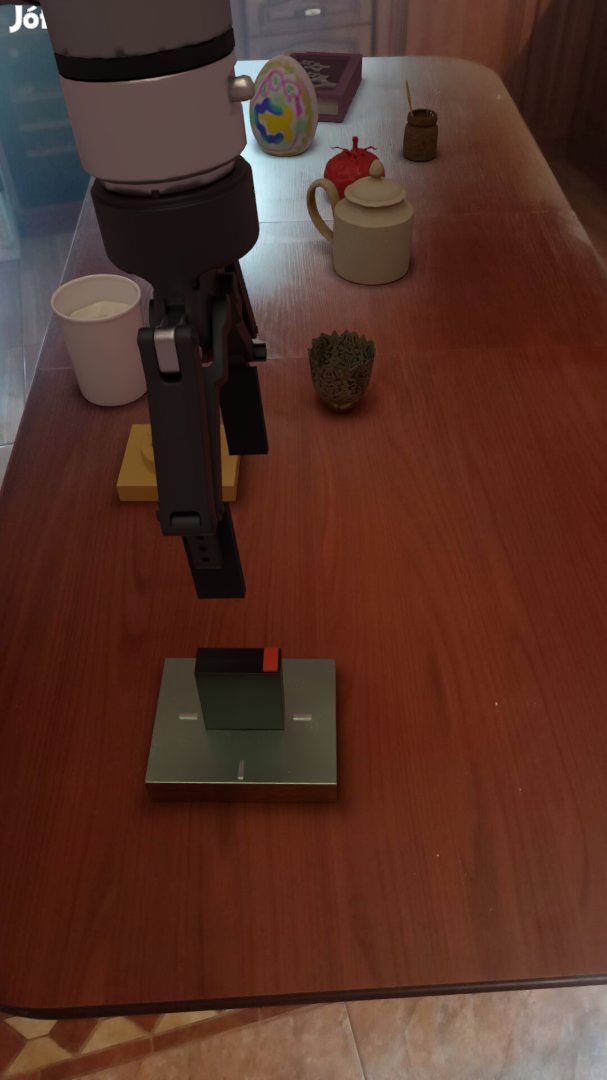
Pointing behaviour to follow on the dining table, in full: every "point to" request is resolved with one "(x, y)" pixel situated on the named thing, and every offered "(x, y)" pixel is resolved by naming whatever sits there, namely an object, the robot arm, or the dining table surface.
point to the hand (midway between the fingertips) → (237, 516)
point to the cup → (341, 368)
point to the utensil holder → (420, 132)
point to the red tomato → (349, 166)
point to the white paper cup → (102, 336)
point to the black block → (240, 687)
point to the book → (331, 80)
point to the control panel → (246, 742)
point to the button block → (140, 468)
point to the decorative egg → (283, 108)
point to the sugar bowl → (367, 227)
